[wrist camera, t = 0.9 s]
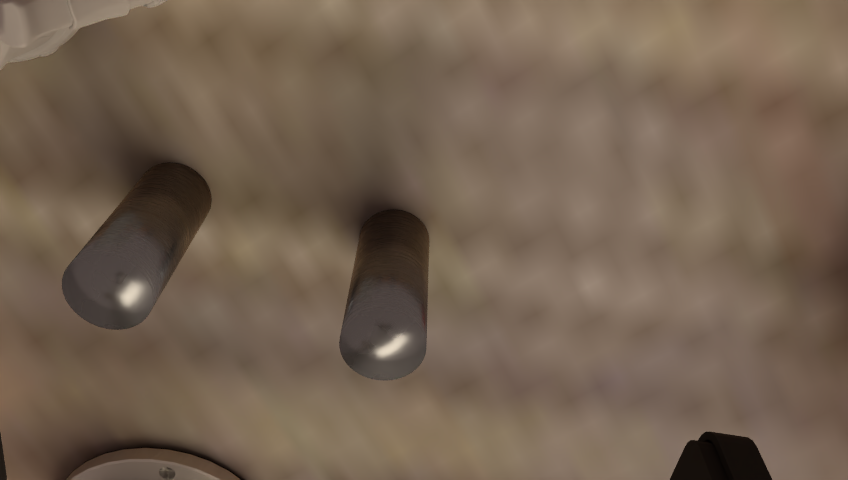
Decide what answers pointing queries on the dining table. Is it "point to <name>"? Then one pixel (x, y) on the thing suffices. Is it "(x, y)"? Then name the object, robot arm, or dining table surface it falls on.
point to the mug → (52, 23)
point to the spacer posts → (178, 224)
